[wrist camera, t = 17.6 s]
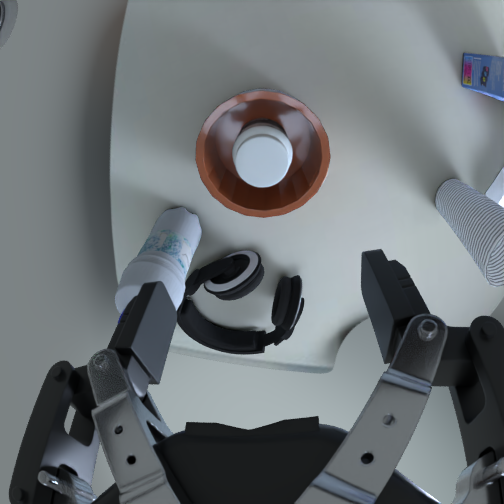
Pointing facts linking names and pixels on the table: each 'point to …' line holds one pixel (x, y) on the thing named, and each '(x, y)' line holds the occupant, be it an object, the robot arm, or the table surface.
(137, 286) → the bottle
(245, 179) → the pill bottle
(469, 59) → the ink cartridge box
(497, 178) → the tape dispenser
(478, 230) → the cup
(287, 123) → the crock
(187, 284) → the headphones
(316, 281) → the table surface
